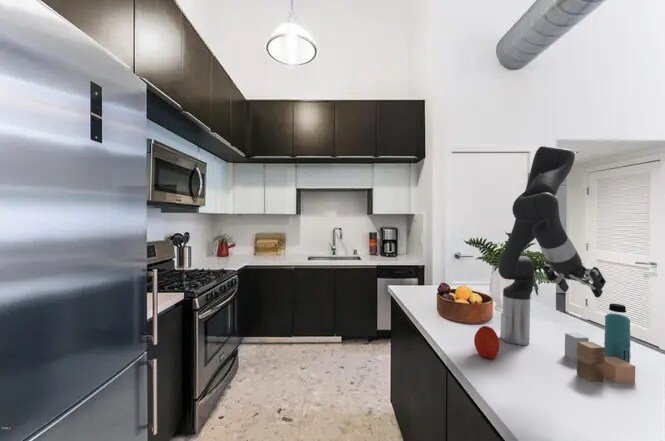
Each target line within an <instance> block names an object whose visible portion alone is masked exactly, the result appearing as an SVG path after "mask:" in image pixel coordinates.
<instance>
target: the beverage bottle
mask: <svg viewBox="0 0 665 441" xmlns="http://www.w3.org/2000/svg"><path fill="white" fill-rule="evenodd" d="M608 311H611V312H610V313H609V312H608V313H607V314H606V315H604V337H603V339H604V343H603V345H604V346H603V347H604V348H605V357H617V358H619V359H621V360H623V361H625V362H628V363H630V362H631V356H632V354H631V346H632V345H631V319H630V318H629V317H628V316H627V315H624V314H621V313H627V309H626V306H625V305H624V304H620V303H609V306H608ZM630 364H631V363H630Z"/></svg>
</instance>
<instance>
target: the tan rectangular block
mask: <svg viewBox="0 0 665 441" xmlns="http://www.w3.org/2000/svg"><path fill="white" fill-rule="evenodd" d="M604 347H605V346H602V345H599V344H598V343H596V342H593V341H589V342H578V348H577V362H576V374H577V376H579V377H581V378H582V379H584V380H586V381H588V382H597V383H599V382H605V377H604V371H605V348H604Z"/></svg>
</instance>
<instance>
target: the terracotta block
mask: <svg viewBox="0 0 665 441" xmlns="http://www.w3.org/2000/svg"><path fill="white" fill-rule="evenodd" d="M604 378H605V379H606V378H607V380H610V381H611V382H613V383H615V384H619V383H620V384H622V383H626V384H628V383H629V384H632V383H633V384H635V383H636V365H634V364H632V363H628V362H625V361H623V360H621V359H619V358H617V357H605V371H604Z"/></svg>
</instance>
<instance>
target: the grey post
mask: <svg viewBox="0 0 665 441" xmlns="http://www.w3.org/2000/svg"><path fill="white" fill-rule="evenodd" d="M578 342H590V341H589V337H588V336H586V335H583V334H581V333H580V332H565V333H564V357H566V358H568V359H569V360H572V361H573V362H576V363H577V348H578Z"/></svg>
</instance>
